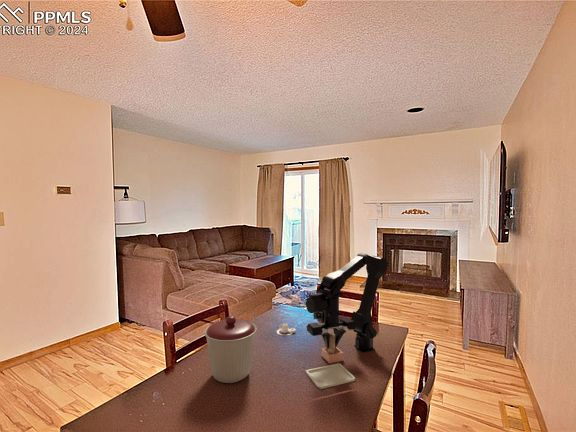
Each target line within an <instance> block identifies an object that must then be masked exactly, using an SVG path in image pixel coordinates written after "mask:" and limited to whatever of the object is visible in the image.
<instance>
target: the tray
mask: <svg viewBox="0 0 576 432" xmlns="http://www.w3.org/2000/svg"><path fill="white" fill-rule="evenodd" d="M304 372H305V374H306V375H307V376H308V377H309V379H310V380H311V381H312V382H313V383H314V386H316V387H317V388H318V390H323V389H327V388H330V387H335V386H336V387H337V386H339V385H340V386H341V385H342V384H343V385H344V384H347V383H352V382H356V381H357V378H356V377H355V375H353V374H352V373H351V372H350V371H349V370H348V369H346V367H345V366H344V365H342V364H341V363H340V362H336V363H332V364H328V365H324V366H320V367H319V366H318V367H314V368H310V369H305V371H304Z"/></svg>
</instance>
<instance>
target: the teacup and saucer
mask: <svg viewBox="0 0 576 432" xmlns="http://www.w3.org/2000/svg"><path fill="white" fill-rule="evenodd" d="M278 327H279V329H277V330H276V334H277V335H280V336H291V335H292V334H293V333H296V332H297V329H296V328H295V327H294V328H289V323H286V322H285V323H284V322H283V323H281V324H280V325H279V326H278ZM280 331H281V332H282V333H283V334H282V333H280Z"/></svg>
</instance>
